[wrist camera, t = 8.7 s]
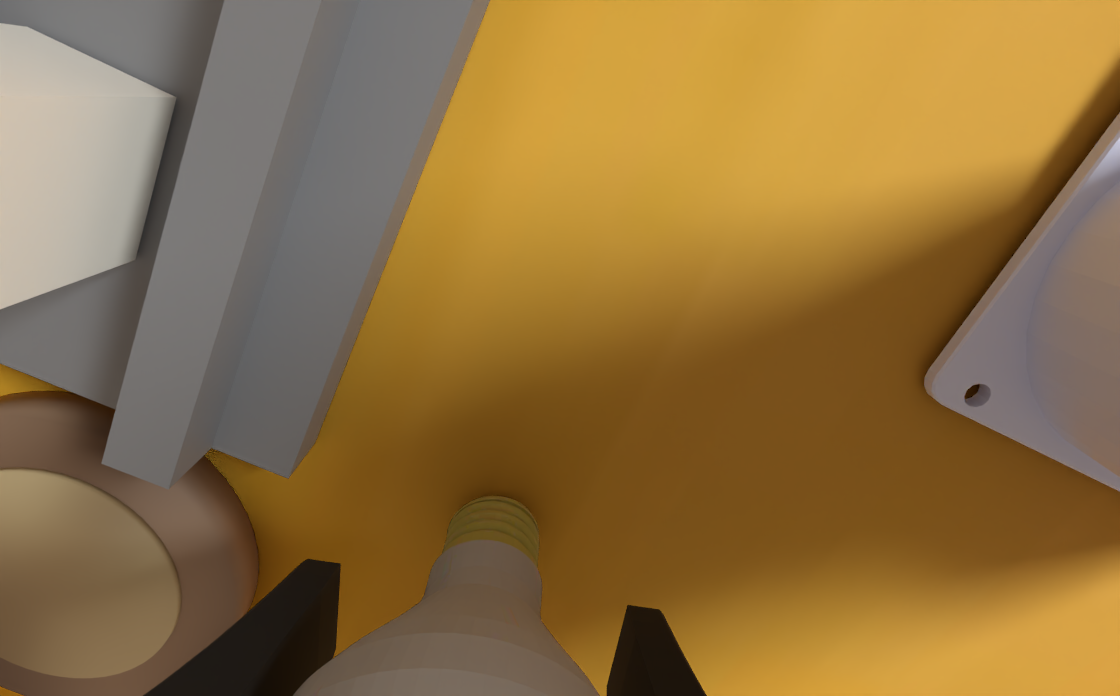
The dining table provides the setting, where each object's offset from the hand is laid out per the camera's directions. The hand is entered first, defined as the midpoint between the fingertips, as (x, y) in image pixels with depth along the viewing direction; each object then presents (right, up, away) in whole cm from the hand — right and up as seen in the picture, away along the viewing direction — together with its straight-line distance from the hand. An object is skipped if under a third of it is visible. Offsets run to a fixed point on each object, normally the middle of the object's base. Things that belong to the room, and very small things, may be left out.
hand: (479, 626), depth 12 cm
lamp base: (-10, +1, +4) cm, 10 cm away
